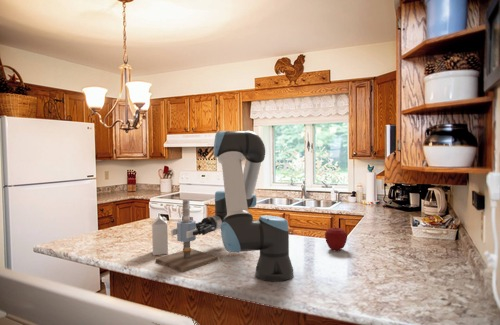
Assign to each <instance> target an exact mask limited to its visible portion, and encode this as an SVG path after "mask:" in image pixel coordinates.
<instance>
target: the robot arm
mask: <svg viewBox="0 0 500 325" xmlns="http://www.w3.org/2000/svg"><path fill="white" fill-rule="evenodd" d="M213 142H214V143H213V157H214V158H217V161H218V163H220V164H221V170H222V179H223V180H222V181H223V187H224V190H217V191H216V192H215V193H214V215H210V216H206V217H203V218H202V219H201V221H200V222H199V221H198V222H196V229H194V230H191V231H187V232H186V236H187V238H190V237H193V236H196V237H197V236H198V235H199V236H200V235H202V236H205V235H207V234H209V233H212V232H216V231H217V230H220V235H221V240H222V244H223V247H224V249H225V250H226V251H227V252H229V253H241V252H243V253H244V252H254V251H259V257H258V261H257V264H256V267H255V276H256V277H257V278H259V279H260V280H262V281H267V282H282V281H283V282H284V281H287V280H290V279H292V278H293V277H294V268H293V265H292V262H291V261H292V260H291V259H290V258H291V257H290V246H289V245H290V237H289V236H290V235H289V233H290V229H289V222H288V220H287V219H286V218H284V217H281V216H276V215H275V216H274V215H265V214H264V215H260V216H259V217H258V220H257V219H256V220H255V219H254V217H253V214H252V213H250V212H249V209H250V208H254V207H256V206H257V200H258V199H257V195H256V194H255V191H256V190H255V189H256V185H257V182H258V181H257V180H258V177H259V174H260V169H261V164H262V162H264V160H265V157H266V146H265V143H264V141H263V140H262V138H261V137H260V135H259V134H257V133H255V132H254V131H251V130H220V131H219V130H218V131H217V132H216V133H215V136H214V141H213ZM244 159H245V162H244V167H243V165H242V161H243V160H244ZM170 232H171V233H170V235H171V236H177V227H175V228H172V229H171V231H170Z"/></svg>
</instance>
